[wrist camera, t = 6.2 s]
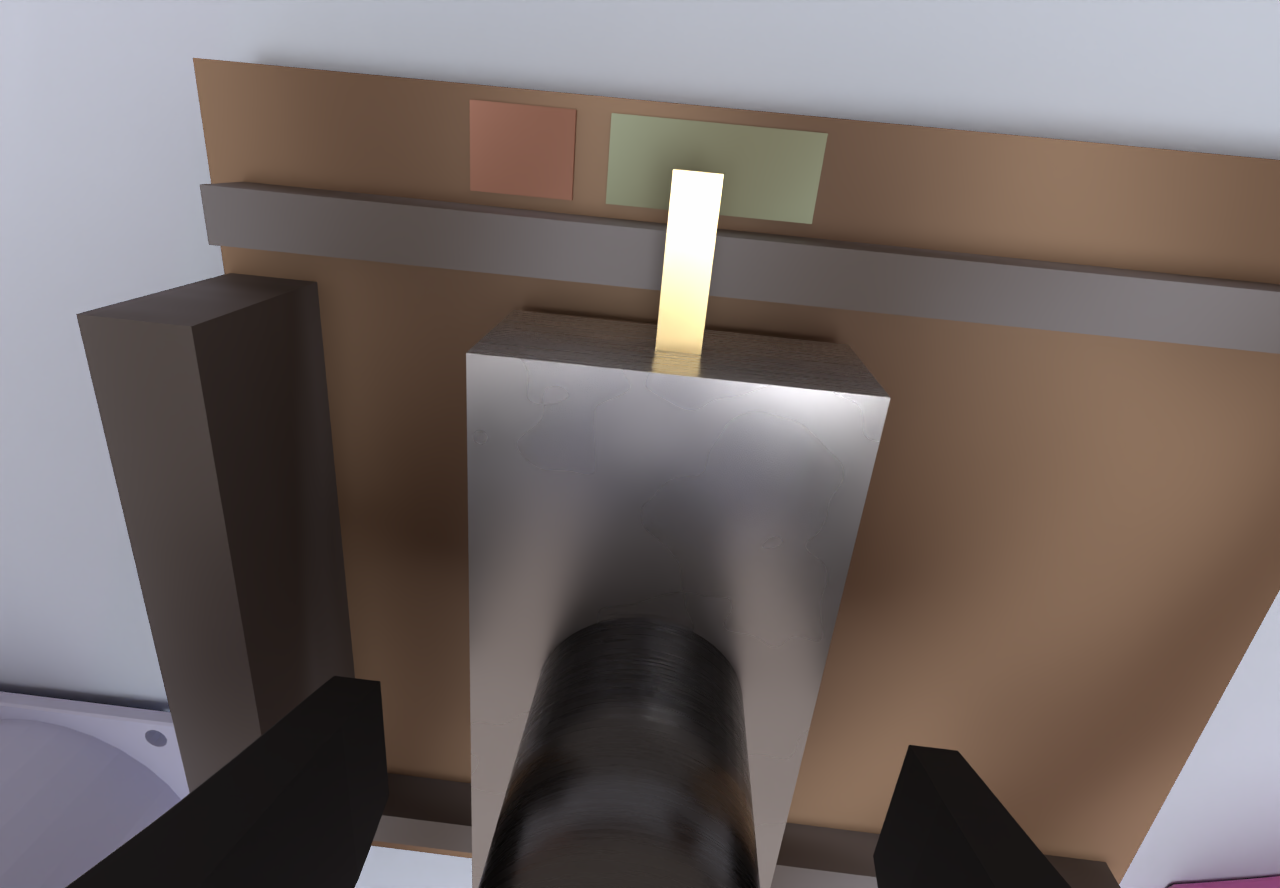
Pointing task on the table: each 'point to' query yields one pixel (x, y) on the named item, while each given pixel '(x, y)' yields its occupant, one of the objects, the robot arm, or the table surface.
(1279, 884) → the gum box
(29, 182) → the table surface
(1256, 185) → the press base
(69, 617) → the table surface
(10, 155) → the table surface
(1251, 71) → the table surface
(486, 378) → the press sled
